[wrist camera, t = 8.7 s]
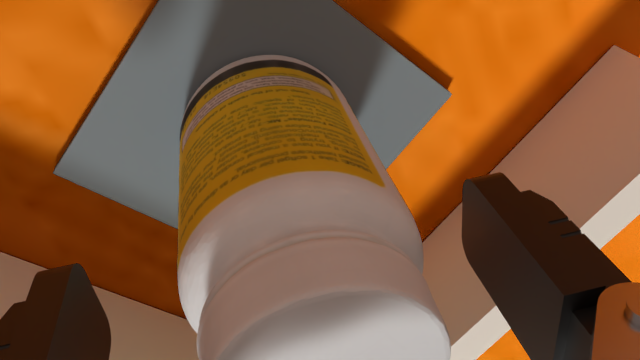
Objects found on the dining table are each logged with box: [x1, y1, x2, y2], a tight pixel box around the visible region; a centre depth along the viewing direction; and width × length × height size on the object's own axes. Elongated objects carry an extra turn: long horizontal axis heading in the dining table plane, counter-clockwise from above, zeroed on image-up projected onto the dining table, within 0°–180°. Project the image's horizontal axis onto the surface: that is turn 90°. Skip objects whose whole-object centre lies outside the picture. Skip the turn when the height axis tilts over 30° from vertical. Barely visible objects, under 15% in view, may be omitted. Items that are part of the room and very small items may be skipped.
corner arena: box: [0, 45, 640, 360], centre depth 14 cm, size 17×17×4 cm
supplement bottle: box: [177, 55, 451, 360], centre depth 12 cm, size 5×5×8 cm
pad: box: [53, 0, 452, 229], centre depth 15 cm, size 8×8×1 cm
